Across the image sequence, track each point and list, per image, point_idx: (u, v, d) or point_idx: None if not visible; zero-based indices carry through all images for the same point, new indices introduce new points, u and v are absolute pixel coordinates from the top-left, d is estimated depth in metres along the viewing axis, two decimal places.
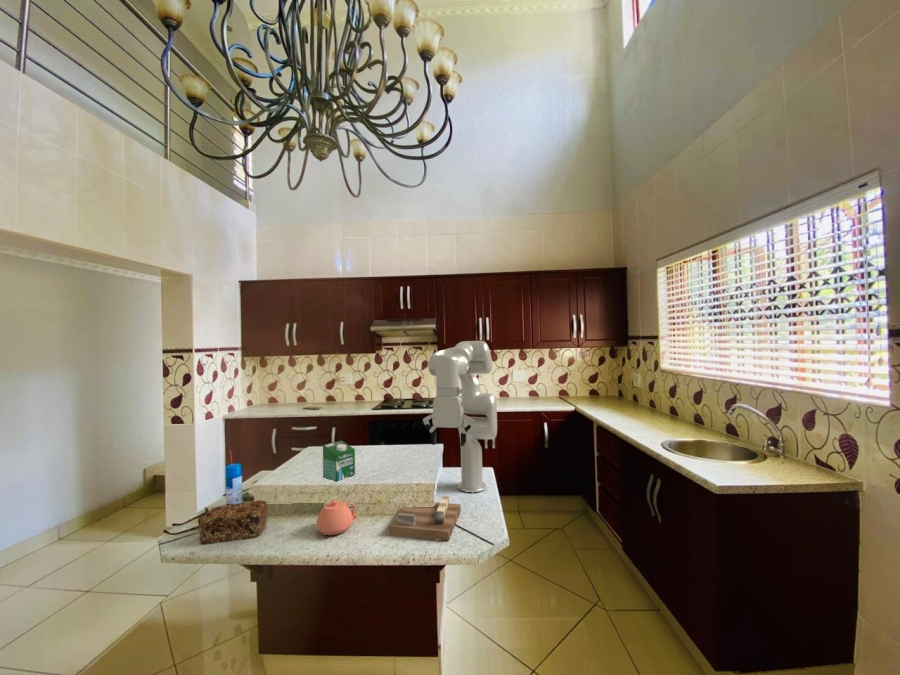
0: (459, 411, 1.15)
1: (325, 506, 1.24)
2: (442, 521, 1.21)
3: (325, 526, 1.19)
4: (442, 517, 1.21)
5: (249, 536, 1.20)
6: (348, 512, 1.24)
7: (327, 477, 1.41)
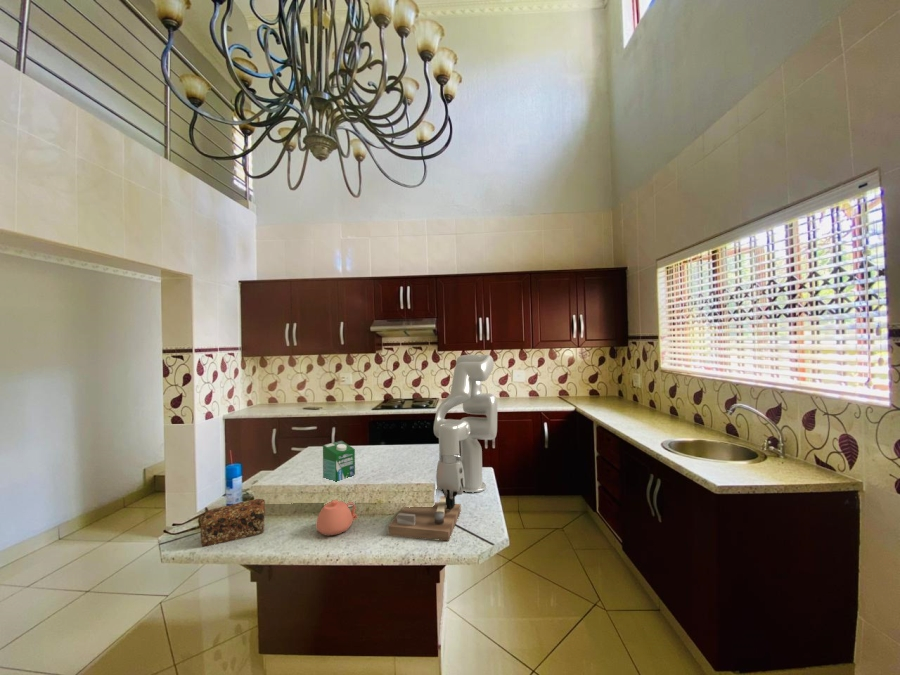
0: (457, 477, 1.27)
1: (325, 506, 1.24)
2: (442, 521, 1.21)
3: (325, 526, 1.19)
4: (442, 517, 1.21)
5: (253, 533, 1.22)
6: (348, 512, 1.24)
7: (327, 477, 1.41)
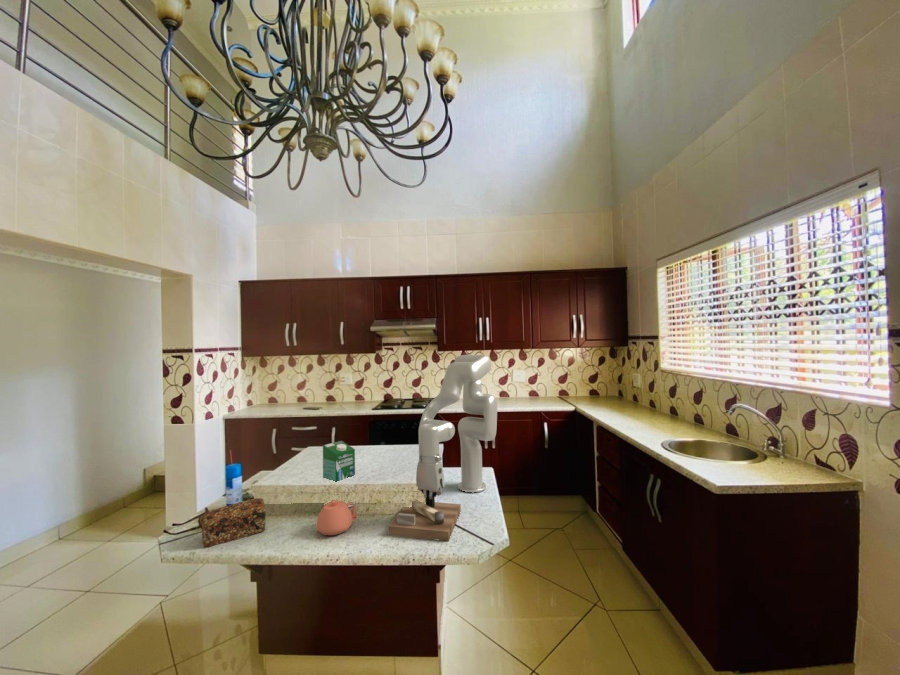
0: (436, 477, 1.28)
1: (325, 506, 1.24)
2: (443, 519, 1.22)
3: (325, 526, 1.19)
4: (443, 515, 1.22)
5: (255, 532, 1.22)
6: (348, 512, 1.24)
7: (327, 477, 1.41)
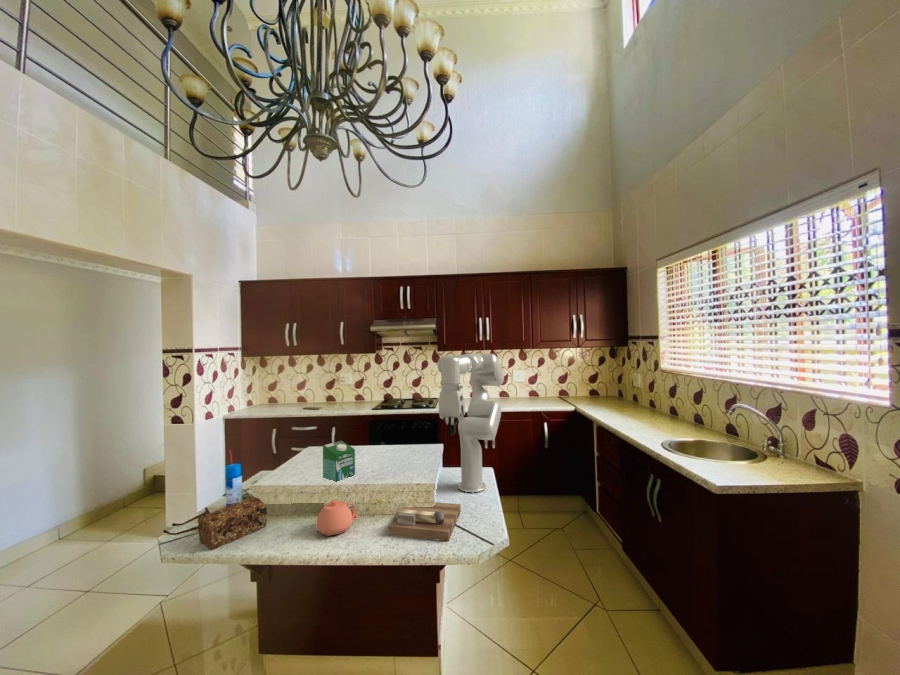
0: (457, 403, 1.37)
1: (325, 506, 1.24)
2: None
3: (325, 526, 1.19)
4: None
5: (258, 528, 1.25)
6: (348, 512, 1.24)
7: (327, 477, 1.41)
